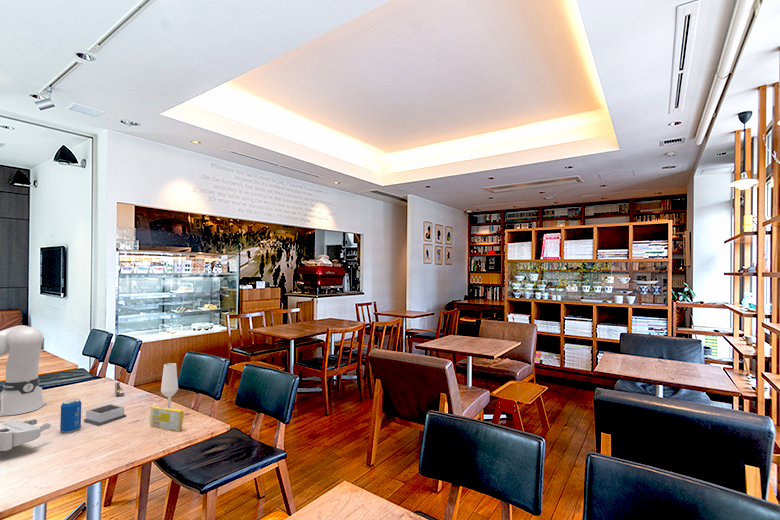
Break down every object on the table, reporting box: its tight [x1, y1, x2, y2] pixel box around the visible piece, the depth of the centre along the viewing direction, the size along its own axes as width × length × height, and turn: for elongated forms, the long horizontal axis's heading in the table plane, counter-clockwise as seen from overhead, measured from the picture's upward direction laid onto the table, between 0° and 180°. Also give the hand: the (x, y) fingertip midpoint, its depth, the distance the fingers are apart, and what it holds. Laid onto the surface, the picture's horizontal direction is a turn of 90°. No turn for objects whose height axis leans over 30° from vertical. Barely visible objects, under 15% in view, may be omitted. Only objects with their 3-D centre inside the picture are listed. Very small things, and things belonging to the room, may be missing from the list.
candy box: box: [149, 405, 184, 432], centre depth 160 cm, size 16×2×8 cm, turn 71°
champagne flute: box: [160, 362, 179, 409], centre depth 170 cm, size 7×7×24 cm
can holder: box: [83, 403, 127, 427], centre depth 169 cm, size 11×11×4 cm
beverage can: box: [59, 398, 82, 434], centre depth 157 cm, size 6×6×12 cm
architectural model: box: [114, 381, 125, 397], centre depth 201 cm, size 3×7×7 cm, turn 41°
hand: (42, 423), depth 148 cm, fingers open, 8 cm apart
